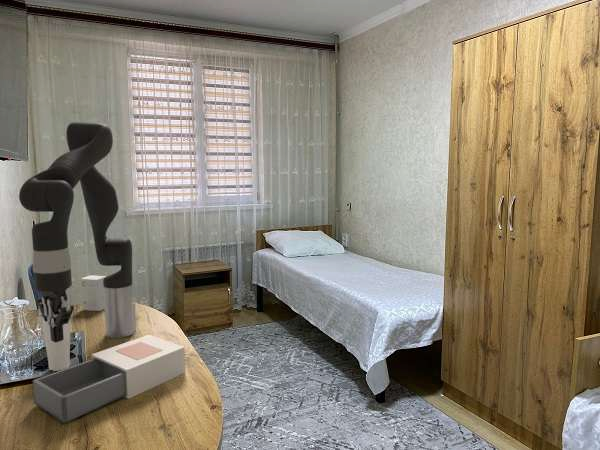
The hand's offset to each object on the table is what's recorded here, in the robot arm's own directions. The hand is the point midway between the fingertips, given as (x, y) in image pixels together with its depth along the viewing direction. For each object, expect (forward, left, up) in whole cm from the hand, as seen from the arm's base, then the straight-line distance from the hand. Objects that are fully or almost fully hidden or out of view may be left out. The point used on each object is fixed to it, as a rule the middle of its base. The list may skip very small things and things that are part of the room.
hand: (57, 340), depth 106 cm
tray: (-5, +3, -16) cm, 17 cm away
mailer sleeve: (-19, +8, -17) cm, 27 cm away
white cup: (-18, -17, -17) cm, 30 cm away
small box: (-68, -44, -17) cm, 83 cm away
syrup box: (-32, -31, -17) cm, 48 cm away
